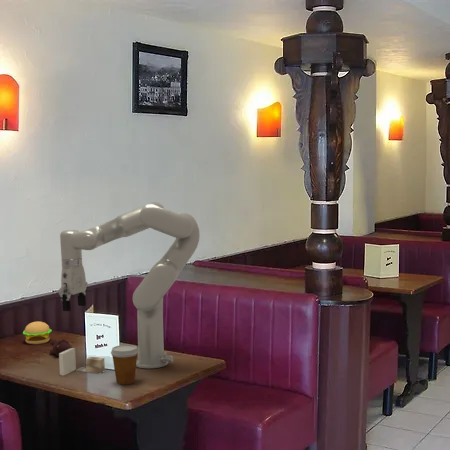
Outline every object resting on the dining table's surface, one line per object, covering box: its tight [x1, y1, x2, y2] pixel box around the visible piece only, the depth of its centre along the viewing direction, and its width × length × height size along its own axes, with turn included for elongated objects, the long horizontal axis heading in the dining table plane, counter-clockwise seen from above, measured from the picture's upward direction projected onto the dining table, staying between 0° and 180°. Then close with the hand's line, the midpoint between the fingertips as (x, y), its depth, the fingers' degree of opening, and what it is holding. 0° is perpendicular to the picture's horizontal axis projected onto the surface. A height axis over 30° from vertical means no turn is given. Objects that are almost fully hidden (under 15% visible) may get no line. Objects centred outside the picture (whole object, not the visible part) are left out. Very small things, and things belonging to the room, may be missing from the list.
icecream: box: [49, 339, 73, 357], centre depth 282 cm, size 7×7×15 cm
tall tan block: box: [75, 356, 106, 374], centre depth 261 cm, size 10×4×5 cm, turn 69°
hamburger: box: [22, 320, 53, 345], centre depth 307 cm, size 12×12×9 cm
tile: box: [58, 347, 77, 377], centre depth 261 cm, size 2×8×8 cm, turn 159°
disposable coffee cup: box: [110, 344, 138, 385], centre depth 248 cm, size 10×10×12 cm
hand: (74, 308), depth 269 cm, fingers open, 9 cm apart
